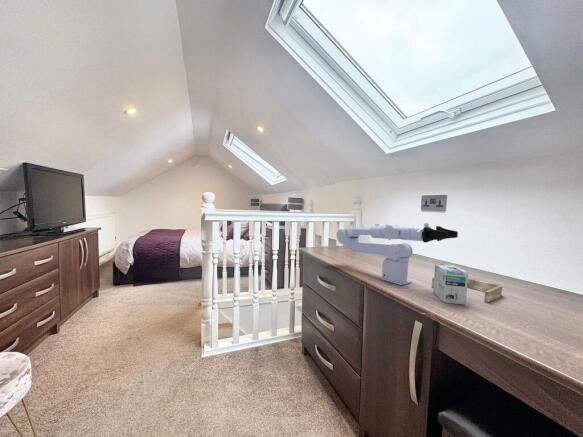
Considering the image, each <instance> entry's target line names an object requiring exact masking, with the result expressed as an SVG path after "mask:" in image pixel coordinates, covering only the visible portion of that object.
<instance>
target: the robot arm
mask: <svg viewBox="0 0 583 437" xmlns="http://www.w3.org/2000/svg"><path fill="white" fill-rule="evenodd" d="M458 235H459V232H458V231H457V230H453V229H447V228H444V227H442V226H440V225H436V226H435V229H434V228H433V227H431V226H430V225H429V222H424V224H423V225H396V224H393V225H391V224H385V225H383V224H381V225H380V224H379V223H375V224H374V225H371V227H348V228H344V229H342V228H340V229H338V230H337V232H336V239H337V240H338V243H339V244H341V245H343V246H345V247H346V249H348V250H350V251H351V252H354V253H362V254H371V255H379V256H383V257H386V258H385V259H383V261H382V266H381V278H380V280H383V281H385V282H389V283H392V284H395V285H399V286H404V285H408V284H411V283H412V280H410V279H408V274H409V260H410V258H411V257H412V255H413V252H414V251H413V248H412V246H411V245H410V244H409V243H406V242H402V243H396V244H395V243H394V244H393V243H392V244H385V243H384V244H383V243H373V242H363V241H361V238H360V236H370V237H371V238H372V239H387V240H389V241H390V240H391V241H392V240H402V241H414V242H415V241H416V242H422V243H429V242H431V241H437V242H441V241H443V240H446V239H457V238H458Z"/></svg>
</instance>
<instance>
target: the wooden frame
mask: <svg viewBox="0 0 583 437" xmlns="http://www.w3.org/2000/svg"><path fill="white" fill-rule="evenodd" d="M433 287H434V277H432V279H431V288H433ZM467 289H472V290H476V291H480V292H484V303H487V304H490V302H493V301H494V300H497V299H498V298H500V297H502V295H503V285H499V284H495V283H492V282H486V281H481V280H477V279H472V278H470V277H468V283H467Z"/></svg>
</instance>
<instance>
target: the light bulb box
mask: <svg viewBox="0 0 583 437" xmlns="http://www.w3.org/2000/svg"><path fill="white" fill-rule="evenodd" d="M433 274H434V276H433V278H434V287H432V288H433V291H432V292H433V294H435V296H437V297H438V299H440V300H441V301H442V303H445V304H455V305H463V306H466V305H467V296H468V294H467V292H468V288H467V283H468V278H469V272H468V271H467V270H464V269H462V268H460V267H458V266H456V265H454V264H443V263H434V273H433Z"/></svg>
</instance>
